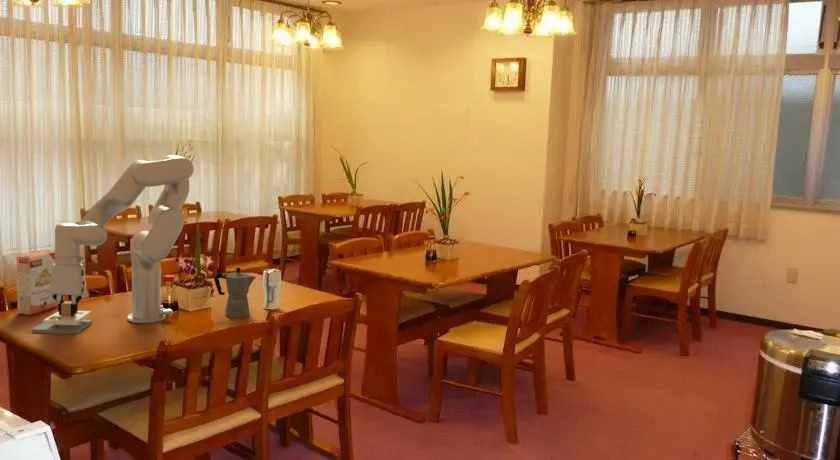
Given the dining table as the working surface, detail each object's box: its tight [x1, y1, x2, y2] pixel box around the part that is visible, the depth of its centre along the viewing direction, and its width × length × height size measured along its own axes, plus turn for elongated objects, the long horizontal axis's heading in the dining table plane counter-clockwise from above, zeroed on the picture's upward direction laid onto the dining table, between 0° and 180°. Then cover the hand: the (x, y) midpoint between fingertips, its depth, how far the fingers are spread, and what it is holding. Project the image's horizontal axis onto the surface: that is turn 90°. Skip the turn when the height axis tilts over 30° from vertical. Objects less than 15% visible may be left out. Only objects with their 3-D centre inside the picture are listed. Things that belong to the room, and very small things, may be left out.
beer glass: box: [262, 268, 282, 308], centre depth 275 cm, size 7×7×15 cm
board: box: [31, 319, 93, 335], centre depth 237 cm, size 14×13×1 cm
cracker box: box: [16, 250, 58, 316], centre depth 255 cm, size 14×6×21 cm, turn 168°
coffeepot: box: [213, 267, 257, 319], centre depth 263 cm, size 15×9×18 cm, turn 92°
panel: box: [42, 300, 92, 325], centre depth 237 cm, size 10×13×6 cm
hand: (67, 314), depth 237 cm, fingers closed on panel, 3 cm apart
